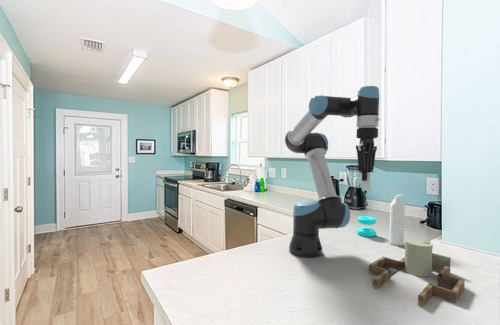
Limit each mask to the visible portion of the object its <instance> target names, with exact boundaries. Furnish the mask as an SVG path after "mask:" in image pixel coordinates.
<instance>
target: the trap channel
mask: <svg viewBox="0 0 500 325" xmlns="http://www.w3.org/2000/svg"><path fill="white" fill-rule="evenodd" d="M451 258H452V257H451V256H447V255H442V254H438V253H434V252H432V270H436V271H438V273H437V282H438V283H437V284H433V283H430V282H428V284H427V285H426V286H425V287H424V288H423V289H422V290H421V291H420V292H419V293H418V294H417V306H420V307H424V306H425V304H426V303H427V302H429V300H430V299H431V297H432V296H434V297H437V298H440V299H443V300H446V301H449V302H452V303H455V304H456V303H457V302H458V300H459V298H460V296H461V295H462V293H463V291H464V290H465V279H463V278H459V277H456V276H452V275H450V274H451V263H452V262H451V260H452V259H451ZM404 265H405V256H404V257H403V258H401V259H400V260H397V259H393V258H390V257H388V256H387V257H386V256H381V257H380V258H378V259H376V260H375V261H374V262H372V263H370V264H368V273H369V274H371V275H374V276H375V277H374V278H373V280H372V281H373V284H372V288H373V289H376V290H377V289H379V288H380V287H381V286H383V285H384V284H385V283H387V282H388V281H389V280H390V279H391V277H392V276H394V274H396V273H397V272H399V271H402V270H404Z"/></svg>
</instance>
